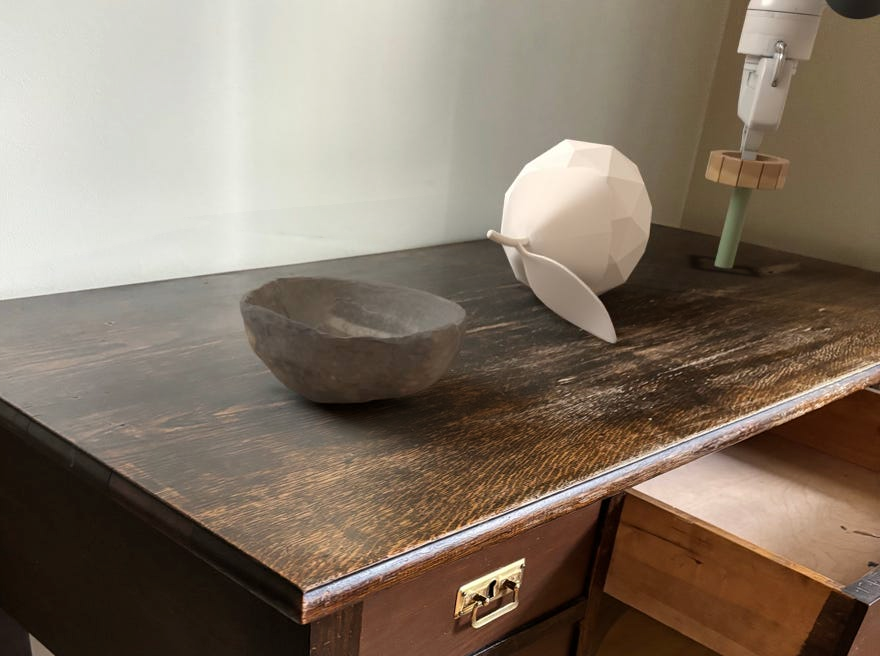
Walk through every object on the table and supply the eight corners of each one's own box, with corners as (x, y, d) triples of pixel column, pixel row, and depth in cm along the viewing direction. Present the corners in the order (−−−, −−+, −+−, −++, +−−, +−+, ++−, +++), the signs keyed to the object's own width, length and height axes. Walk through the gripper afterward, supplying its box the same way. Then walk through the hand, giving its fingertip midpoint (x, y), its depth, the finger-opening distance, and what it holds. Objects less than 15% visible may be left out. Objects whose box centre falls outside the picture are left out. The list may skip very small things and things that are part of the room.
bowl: (488, 388, 84) (501, 294, 80) (405, 454, 71) (414, 345, 66) (308, 347, 90) (310, 257, 85) (198, 401, 76) (195, 297, 72)
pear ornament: (604, 100, 109) (498, 111, 89) (732, 251, 110) (656, 298, 89) (511, 211, 120) (397, 244, 100) (627, 349, 121) (538, 410, 100)
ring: (778, 181, 128) (785, 156, 127) (786, 192, 120) (794, 166, 119) (703, 172, 130) (709, 147, 128) (707, 183, 122) (713, 156, 120)
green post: (749, 271, 134) (778, 160, 126) (753, 284, 128) (785, 168, 120) (690, 264, 135) (716, 153, 127) (692, 276, 129) (720, 160, 121)
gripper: (814, 45, 111) (778, 176, 119) (793, 42, 128) (763, 157, 135) (758, 39, 112) (725, 170, 119) (744, 37, 129) (717, 152, 136)
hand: (745, 163), depth 128 cm, fingers closed on ring
